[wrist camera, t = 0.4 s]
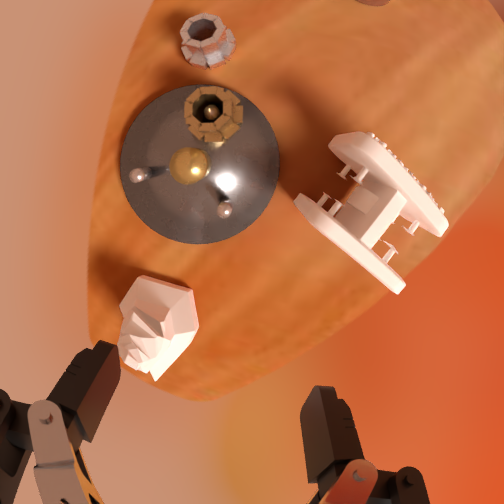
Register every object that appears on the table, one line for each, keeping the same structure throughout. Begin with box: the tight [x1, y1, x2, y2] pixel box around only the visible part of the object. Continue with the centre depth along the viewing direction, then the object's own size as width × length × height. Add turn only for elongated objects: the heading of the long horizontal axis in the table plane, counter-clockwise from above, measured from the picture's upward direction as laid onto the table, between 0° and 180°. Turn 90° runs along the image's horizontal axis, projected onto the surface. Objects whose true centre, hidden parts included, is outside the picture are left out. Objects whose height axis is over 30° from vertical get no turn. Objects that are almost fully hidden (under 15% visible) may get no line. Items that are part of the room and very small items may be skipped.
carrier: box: [120, 85, 280, 244], centre depth 30 cm, size 20×20×6 cm
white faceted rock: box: [117, 275, 199, 381], centre depth 34 cm, size 12×15×14 cm
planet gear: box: [180, 13, 236, 70], centre depth 25 cm, size 6×6×6 cm
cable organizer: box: [293, 131, 449, 294], centre depth 29 cm, size 15×11×12 cm
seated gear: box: [184, 86, 243, 142], centre depth 27 cm, size 6×6×6 cm
